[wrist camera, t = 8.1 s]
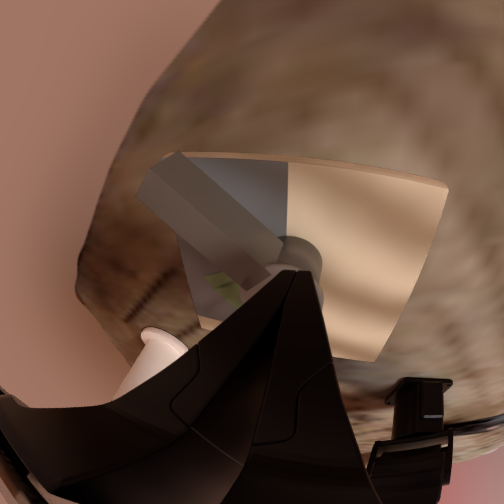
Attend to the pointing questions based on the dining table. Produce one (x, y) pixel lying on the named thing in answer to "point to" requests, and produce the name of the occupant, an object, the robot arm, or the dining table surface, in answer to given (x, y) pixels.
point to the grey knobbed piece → (223, 227)
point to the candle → (152, 358)
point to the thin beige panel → (328, 238)
